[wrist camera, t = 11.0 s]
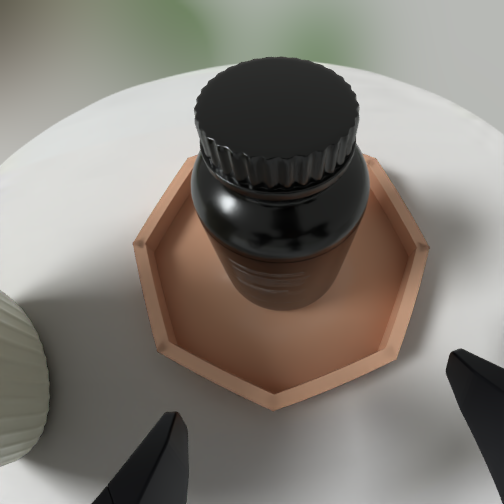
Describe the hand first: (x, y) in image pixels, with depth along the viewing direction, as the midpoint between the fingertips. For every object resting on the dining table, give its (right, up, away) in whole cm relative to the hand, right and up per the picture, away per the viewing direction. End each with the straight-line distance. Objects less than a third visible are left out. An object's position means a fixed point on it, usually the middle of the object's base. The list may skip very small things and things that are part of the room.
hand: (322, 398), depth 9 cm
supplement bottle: (0, +4, +11) cm, 11 cm away
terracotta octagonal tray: (0, +4, +11) cm, 12 cm away
